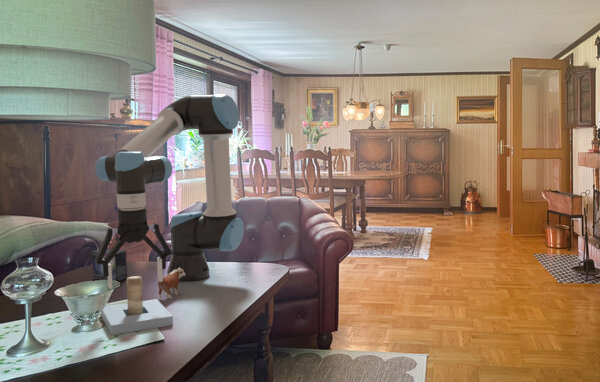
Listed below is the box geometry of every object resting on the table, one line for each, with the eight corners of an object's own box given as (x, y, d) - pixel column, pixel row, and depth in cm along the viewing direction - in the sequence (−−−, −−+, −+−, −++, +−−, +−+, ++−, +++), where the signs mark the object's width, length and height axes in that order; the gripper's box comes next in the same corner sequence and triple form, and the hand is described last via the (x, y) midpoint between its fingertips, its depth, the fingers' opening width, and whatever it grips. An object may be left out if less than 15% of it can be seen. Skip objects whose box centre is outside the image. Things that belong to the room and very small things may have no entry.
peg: (127, 319, 159) (125, 277, 158) (141, 317, 161) (140, 275, 160) (129, 323, 156) (128, 280, 154) (144, 321, 158) (143, 278, 156)
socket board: (101, 315, 163) (100, 306, 163) (157, 307, 170) (156, 299, 170) (111, 334, 147) (111, 325, 147) (173, 325, 154) (172, 316, 154)
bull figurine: (188, 291, 188) (187, 266, 187) (166, 302, 175) (165, 276, 174) (176, 289, 189) (176, 265, 188) (153, 301, 177) (152, 275, 176)
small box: (91, 280, 202) (90, 251, 201) (104, 276, 208) (103, 247, 207) (115, 283, 198) (114, 253, 197) (128, 278, 204) (126, 249, 203)
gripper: (85, 214, 146) (90, 294, 149) (180, 206, 158) (183, 281, 160) (81, 210, 153) (86, 287, 156) (173, 203, 164) (176, 274, 167)
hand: (135, 284), depth 158 cm, fingers open, 13 cm apart
